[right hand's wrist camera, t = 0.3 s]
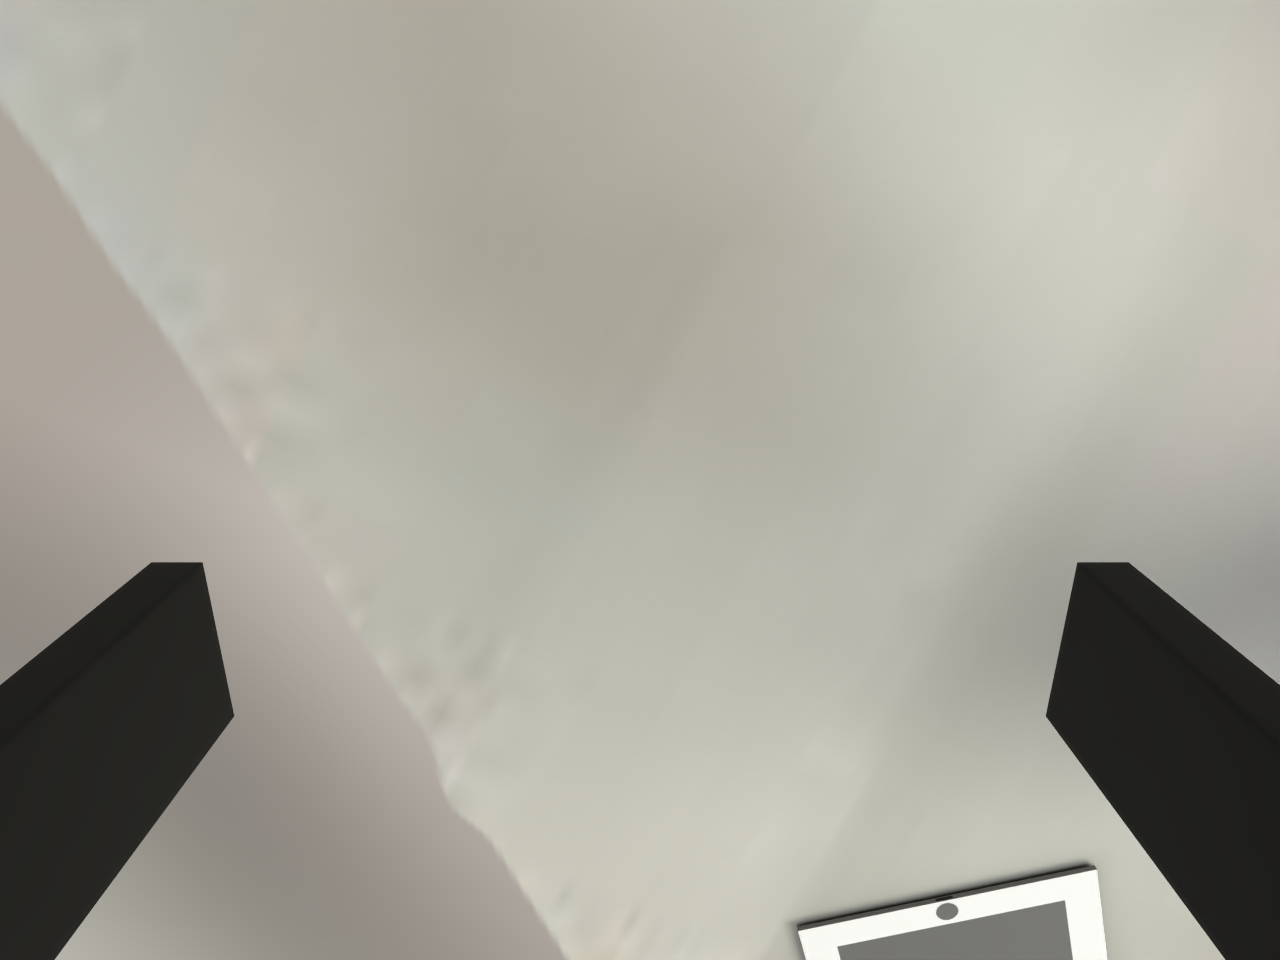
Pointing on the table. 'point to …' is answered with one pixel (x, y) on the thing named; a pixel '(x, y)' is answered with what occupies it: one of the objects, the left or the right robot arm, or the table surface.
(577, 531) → the table surface
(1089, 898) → the tablet
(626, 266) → the table surface
